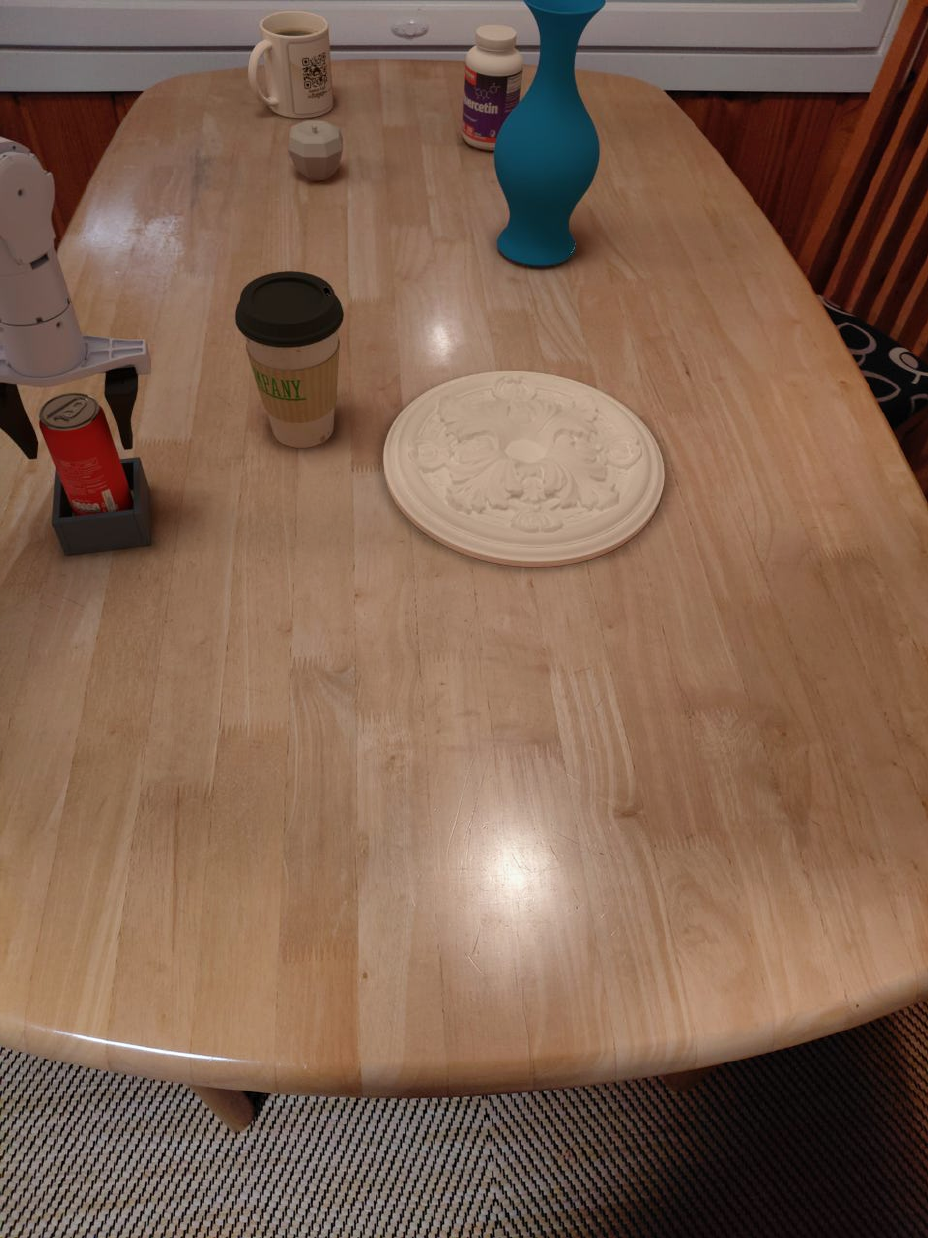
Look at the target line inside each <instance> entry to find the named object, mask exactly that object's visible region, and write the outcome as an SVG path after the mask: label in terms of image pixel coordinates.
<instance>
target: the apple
mask: <svg viewBox="0 0 928 1238" xmlns="http://www.w3.org/2000/svg"><path fill="white" fill-rule="evenodd" d="M287 151H288V153H289V157H290V159H291V161H292V164H293V166H294V167H295V168H296V170H297V171H298V173H299V174H300V175H302V176H303V177H304V178H307V179H308V180H311V181H325V180H327V179H329V178H331V177H332V176H334V175H335V174H336V172H337V170H338V167H339V166H340V164H341V160H342V155H343V152H344V137H343V134H342V132H341V129H340V127H339V126H338V125H335V124H333V123H331V122H329V121H326V120H319V119H315V120H313V119H312V120H311V119H309V120H308V119H305V120H304V121H301V122H299V123H297V124H294V125H292V126H291V127H290V130H289V136H288V144H287Z"/></svg>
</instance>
